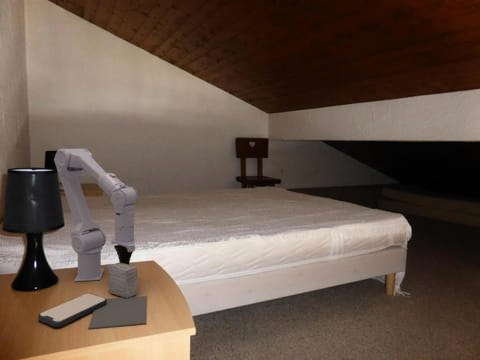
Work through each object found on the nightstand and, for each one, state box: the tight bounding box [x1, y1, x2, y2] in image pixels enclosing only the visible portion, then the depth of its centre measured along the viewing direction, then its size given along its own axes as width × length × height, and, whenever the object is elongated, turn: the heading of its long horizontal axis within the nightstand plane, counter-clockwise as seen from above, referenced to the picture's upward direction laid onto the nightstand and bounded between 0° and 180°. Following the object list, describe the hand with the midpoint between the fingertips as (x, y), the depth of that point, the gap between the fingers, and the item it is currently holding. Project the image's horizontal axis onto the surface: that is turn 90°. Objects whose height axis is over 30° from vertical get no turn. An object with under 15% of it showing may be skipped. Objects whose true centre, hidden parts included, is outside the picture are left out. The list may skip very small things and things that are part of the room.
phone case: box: [37, 292, 108, 328], centre depth 97 cm, size 9×2×16 cm
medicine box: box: [108, 262, 138, 298], centre depth 108 cm, size 8×4×9 cm, turn 59°
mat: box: [87, 295, 148, 330], centre depth 98 cm, size 16×14×1 cm
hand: (124, 267), depth 114 cm, fingers closed
